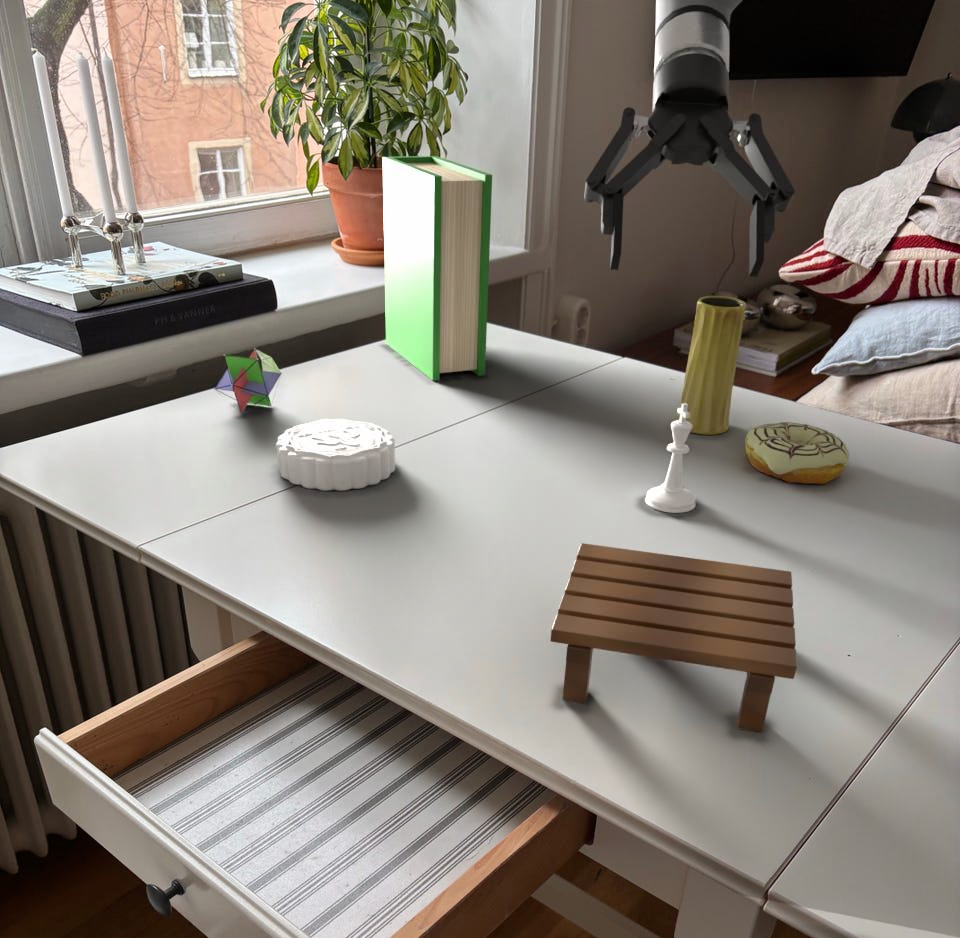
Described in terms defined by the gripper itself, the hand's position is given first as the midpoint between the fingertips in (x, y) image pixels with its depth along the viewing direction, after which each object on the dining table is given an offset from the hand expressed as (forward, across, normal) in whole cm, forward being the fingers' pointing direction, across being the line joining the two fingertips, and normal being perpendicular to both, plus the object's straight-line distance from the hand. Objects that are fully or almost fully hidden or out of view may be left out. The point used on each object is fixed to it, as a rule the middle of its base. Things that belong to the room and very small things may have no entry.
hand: (685, 265), depth 96 cm
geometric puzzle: (+8, +47, -21) cm, 52 cm away
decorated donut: (+14, -14, -14) cm, 25 cm away
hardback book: (-9, +28, -38) cm, 47 cm away
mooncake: (+19, +34, -10) cm, 40 cm away
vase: (+6, -6, -22) cm, 24 cm away
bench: (+42, +3, +14) cm, 45 cm away
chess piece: (+22, 0, -7) cm, 23 cm away
